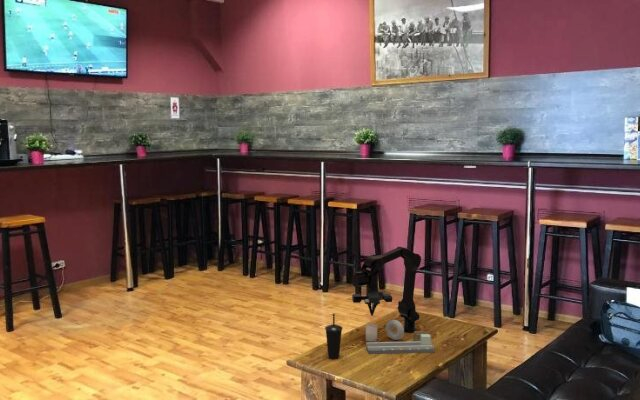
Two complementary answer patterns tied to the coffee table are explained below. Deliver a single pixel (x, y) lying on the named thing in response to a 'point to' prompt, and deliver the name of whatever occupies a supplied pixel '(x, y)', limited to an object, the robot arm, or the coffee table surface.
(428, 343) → the tally marker
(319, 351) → the coffee table surface
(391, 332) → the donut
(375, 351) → the rail
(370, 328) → the white rounded cylinder
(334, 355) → the drinking cup
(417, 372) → the coffee table surface
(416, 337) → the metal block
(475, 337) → the coffee table surface
